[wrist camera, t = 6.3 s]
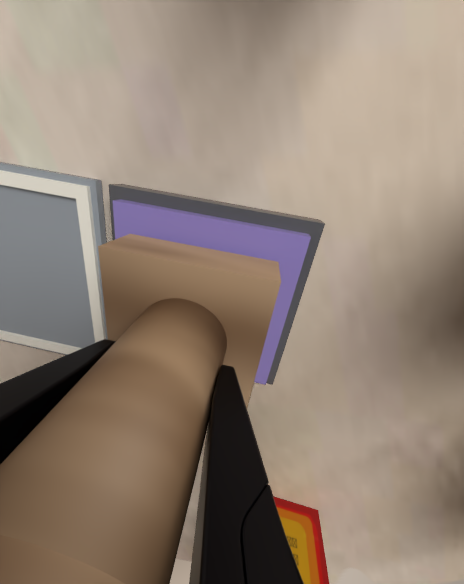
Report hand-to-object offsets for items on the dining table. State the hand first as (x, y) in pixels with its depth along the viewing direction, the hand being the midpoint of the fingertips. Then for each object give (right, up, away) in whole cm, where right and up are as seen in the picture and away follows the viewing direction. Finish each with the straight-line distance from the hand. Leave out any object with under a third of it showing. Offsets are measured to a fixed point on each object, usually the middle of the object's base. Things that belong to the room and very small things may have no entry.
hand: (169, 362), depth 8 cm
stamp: (+1, +2, +3) cm, 4 cm away
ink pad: (+1, +2, +5) cm, 5 cm away
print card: (-10, +4, +6) cm, 12 cm away
